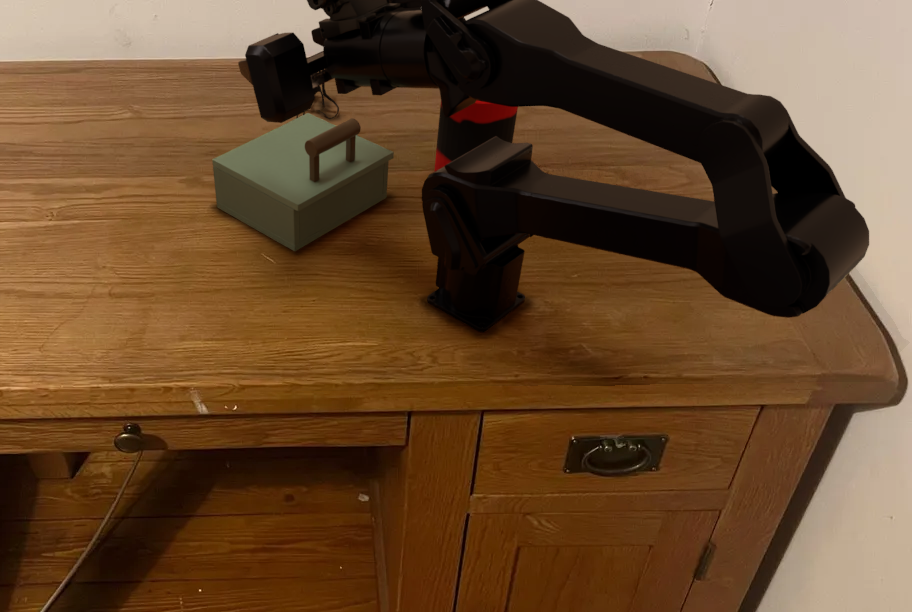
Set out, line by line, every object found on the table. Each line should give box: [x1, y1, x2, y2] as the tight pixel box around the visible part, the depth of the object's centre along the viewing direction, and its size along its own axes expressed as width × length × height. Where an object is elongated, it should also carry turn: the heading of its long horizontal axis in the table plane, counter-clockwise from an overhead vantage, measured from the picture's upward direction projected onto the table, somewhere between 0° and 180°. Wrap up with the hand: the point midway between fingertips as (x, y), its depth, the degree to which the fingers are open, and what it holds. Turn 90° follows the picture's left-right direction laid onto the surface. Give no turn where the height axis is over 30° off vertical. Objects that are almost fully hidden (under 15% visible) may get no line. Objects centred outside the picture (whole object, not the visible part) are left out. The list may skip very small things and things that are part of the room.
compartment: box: [212, 160, 390, 252], centre depth 92 cm, size 11×13×5 cm
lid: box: [211, 112, 395, 211], centre depth 89 cm, size 12×13×5 cm
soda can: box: [433, 100, 519, 172], centre depth 92 cm, size 8×8×12 cm
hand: (277, 51), depth 84 cm, fingers open, 9 cm apart
